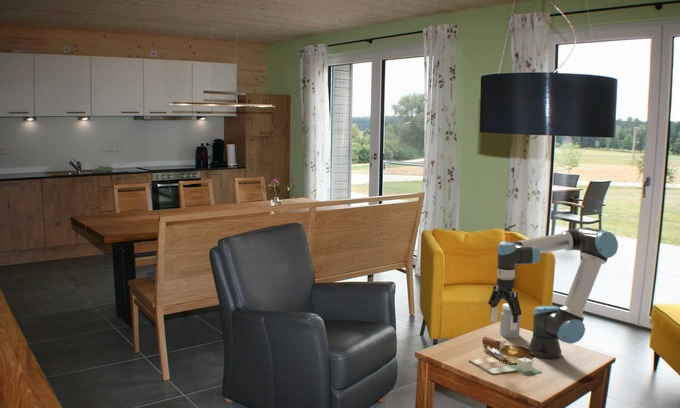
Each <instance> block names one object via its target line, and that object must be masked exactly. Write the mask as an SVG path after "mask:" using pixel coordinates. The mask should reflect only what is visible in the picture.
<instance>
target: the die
mask: <svg viewBox="0 0 680 408" xmlns="http://www.w3.org/2000/svg"><path fill="white" fill-rule="evenodd" d="M517 361H518V363H517V369H519V370H521V371H523V372H527V371H532V368H533V360H531V359H530V358H527V357H522V358H517Z"/></svg>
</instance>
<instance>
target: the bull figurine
mask: <svg viewBox="0 0 680 408" xmlns="http://www.w3.org/2000/svg"><path fill="white" fill-rule="evenodd" d="M506 343H507V341H506V340H505V341H504V340H502V339H495V338H491V337H487V336H483V338H482V347H483V348H482V349H484V350H485V351H486V352H488V347H489V348H490V349H491V350H493V349H494V350H495V349H497V351H498V350H503V348H506V345H505V344H506Z"/></svg>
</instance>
